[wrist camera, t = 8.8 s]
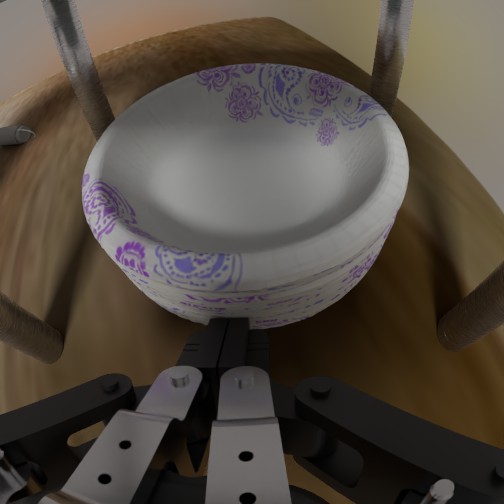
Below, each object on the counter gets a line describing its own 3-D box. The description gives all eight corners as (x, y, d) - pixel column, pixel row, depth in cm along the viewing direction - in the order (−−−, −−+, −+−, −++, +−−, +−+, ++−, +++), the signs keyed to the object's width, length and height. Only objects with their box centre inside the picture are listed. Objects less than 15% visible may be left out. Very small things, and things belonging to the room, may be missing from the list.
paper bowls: (101, 316, 16) (19, 243, 10) (181, 147, 24) (159, 65, 18) (366, 369, 14) (439, 313, 7) (367, 165, 22) (387, 74, 15)
